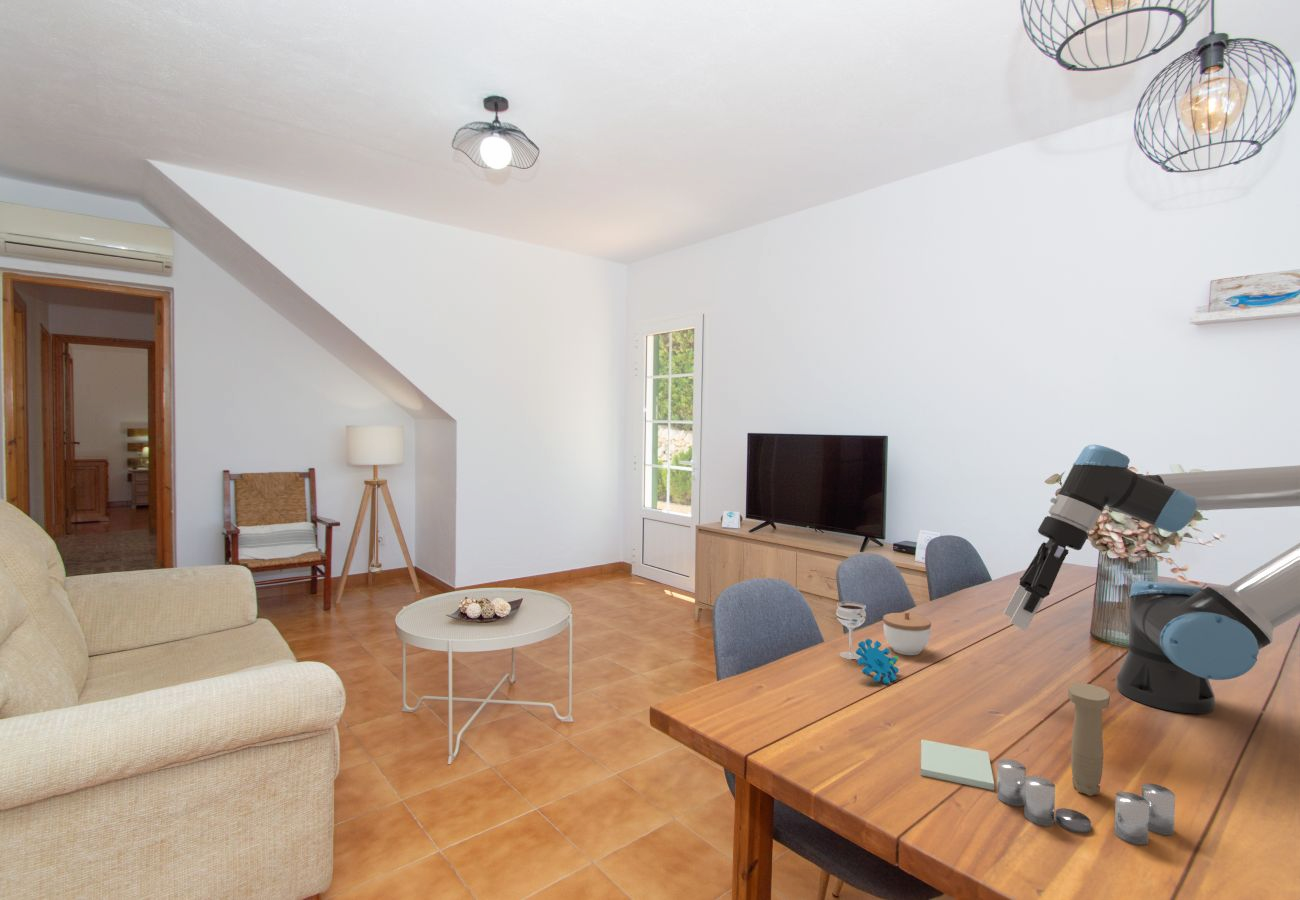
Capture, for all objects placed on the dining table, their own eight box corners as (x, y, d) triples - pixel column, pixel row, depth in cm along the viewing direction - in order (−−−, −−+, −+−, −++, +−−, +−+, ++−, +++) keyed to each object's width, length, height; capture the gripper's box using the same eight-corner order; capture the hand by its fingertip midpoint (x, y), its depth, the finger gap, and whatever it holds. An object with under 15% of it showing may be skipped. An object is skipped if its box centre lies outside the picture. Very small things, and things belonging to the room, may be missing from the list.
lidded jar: (881, 655, 148) (882, 616, 147) (883, 640, 158) (883, 604, 157) (931, 661, 144) (932, 621, 143) (929, 646, 154) (930, 609, 153)
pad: (987, 757, 102) (987, 751, 102) (994, 790, 93) (994, 783, 92) (921, 745, 106) (921, 739, 106) (920, 775, 97) (920, 768, 97)
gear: (871, 681, 128) (852, 636, 135) (854, 694, 132) (837, 649, 139) (912, 681, 132) (891, 637, 139) (895, 693, 136) (876, 650, 143)
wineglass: (850, 663, 143) (851, 611, 142) (829, 653, 149) (829, 603, 148) (871, 657, 146) (872, 607, 145) (850, 648, 152) (850, 600, 151)
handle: (1061, 793, 92) (1064, 693, 91) (1071, 775, 97) (1074, 680, 96) (1101, 807, 89) (1105, 703, 88) (1109, 788, 93) (1112, 689, 93)
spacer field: (1168, 822, 85) (1169, 787, 85) (1190, 859, 78) (1192, 820, 78) (995, 787, 93) (996, 754, 93) (1001, 816, 86) (1002, 781, 86)
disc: (1086, 821, 86) (1086, 812, 86) (1093, 838, 82) (1094, 829, 82) (1052, 813, 87) (1052, 805, 87) (1058, 830, 84) (1058, 821, 84)
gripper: (1037, 515, 130) (989, 604, 132) (1057, 512, 108) (998, 619, 110) (1076, 532, 127) (1026, 623, 129) (1105, 533, 105) (1044, 643, 107)
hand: (1013, 621), depth 120 cm, fingers open, 13 cm apart
